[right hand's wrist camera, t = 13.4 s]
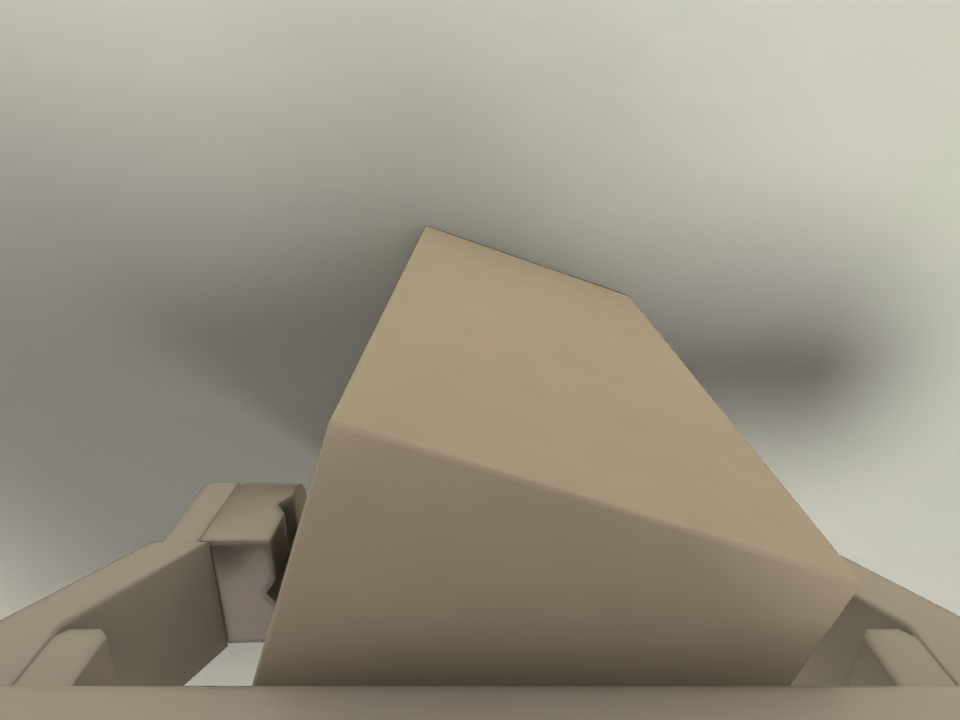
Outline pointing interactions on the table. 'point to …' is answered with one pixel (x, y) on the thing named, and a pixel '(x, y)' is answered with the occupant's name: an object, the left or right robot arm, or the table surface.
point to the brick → (540, 505)
